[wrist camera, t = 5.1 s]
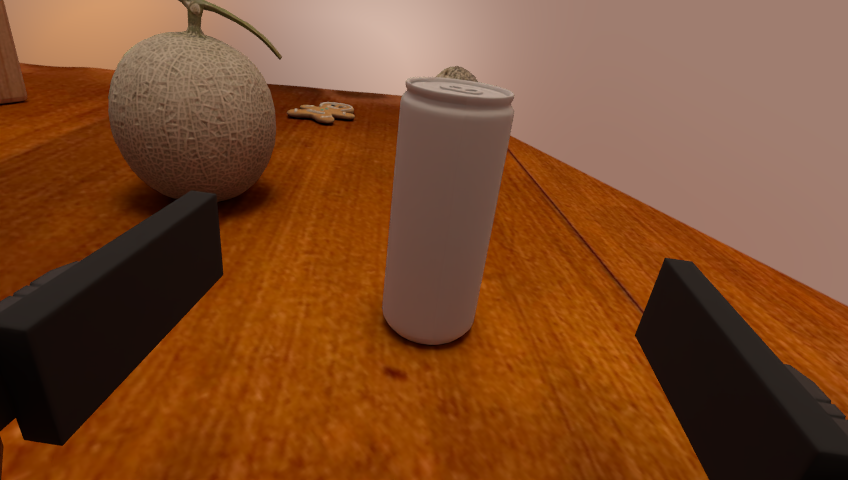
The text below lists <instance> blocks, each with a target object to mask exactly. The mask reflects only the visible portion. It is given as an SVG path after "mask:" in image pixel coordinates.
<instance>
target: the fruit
mask: <svg viewBox="0 0 848 480" xmlns="http://www.w3.org/2000/svg"><path fill="white" fill-rule="evenodd" d="M179 1H180V2H182V3H183V5H184V6H185V7H186V8H187V9H188V28H187V31H184V32H168V33H162V34H158V35H154V36H152V37H150V38H148V39H145V40H143V41H141V42H139V43H137V44H136V45H134V46H133V47H132V48H131V49H129V51H127V52H126V53H125V54H124V56H123V57H122V59H121V61H120V62H119V63H118V66H117V69H116V71H115V73H114V75H113V78H112V81H111V85H110V91H109V96H108V99H109V110H108V112H109V119H110V125H111V130H112V134H113V137H114V140H115V142H116V144H117V146H118V147H119V149H120V151H121V153H122V155H123V157H124V159H125V160H126V162H127V163H128V165H129V166H130V168H131V169H132V170H133V171H134V172H135V173H136V174H137V175H138V176H139V177H140V178H141V179H142V180H143V181H144V182H145V183H146V184H147V185H149V186H150V187H151V188H153V189H155V190H157V191H158V192H160V193H161V194H163V195H166V196H168V197H171V198H173V199H178V198H180V197H182V196H183V195H185V194H186V193H188V192H189V191H191V190H192V191H199V192H206V193H213V194H217V202H219V201H224V200H228V199H231V198H234V197H236V196H239V195H240V194H242V193H243V192H245V191H246V190H247V189H249V188H250V187H251V186H252V185H253V184H254V183H256V181H257V180H258V179H259V177H260V176H261V174H262V173H263V171H264V170H265V168H266V166H267V164H268V162H269V160H270V157H271V154H272V151H273V147H274V144H275V135H276V123H275V109H274V105H273V100H272V96H271V93H270V90H269V88H268V86H267V84H266V82H265V80H264V78H263V76H262V74H261V73H260V72H259V70H258V69H257V68H256V66H255V65H254V64H253V63H252V62H251V61H250V60H249V59H248V58H247V57H246V56H245V55H244V54H242V53H241V52H239V51H237V50H236V49H234V48H233V47H231V46H229V45H228V44H226V43H224V42H222V41H219V40H217V39H215V38H213V37H209V36H206V35H204V33H203V32H202V30H201V28H200V27H201V17H202V13H203V9H204V10H208V11H213V12H215V13H218V14H220V15H222V16H224V17H226V18H228V19H230V20H232V21H234V22H236V23H238V24H239V25H241V26H243V27H244V28H246V29H247V30H249V31H250V32H252V33H253V34H254V35H256V36H257V37H258V38H259V39H260V40H262V41H263V42H264V43H265V44H266V45H267V46H268V47H269V48H270V49H271V51H272V52H273V53H274V54H275V55H276V56H277V57H278V58H279V59H281V58H282V56H281V55H280V54H279V52H278V51H277V50H276V49H275V47H274V46H273V45H272V44H271V43H270V42H269V40H268V39H267V38H266V37H265V36H264V35H262V34H261V33H260V32H258V31H257V30H256V29H255V28H254V27H253V26H251V25H250V24H248V23H247V22H245V21H243V20H241V19H239V18H238V17H236V16H235V15H233V14H231V13H230V12H228V11H227V10H225V9H223V8H220V7H218V6H216V5H214V4H212V3H209V2H207V1H205V0H179Z"/></svg>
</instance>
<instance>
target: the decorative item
mask: <svg viewBox="0 0 848 480" xmlns="http://www.w3.org/2000/svg"><path fill="white" fill-rule="evenodd" d="M26 99H27V93H26V89H25V85H24V81H23V77H22V73H21V69H20V65H19V61H18V57H17V53H16V49H15V45H14V41H13V37H12V33H11V29H10V25H9V21H8V17H7V13H6V9H5V5H4V1H3V0H0V104H5V103H13V102H21V101H24V100H26Z"/></svg>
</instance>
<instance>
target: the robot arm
mask: <svg viewBox="0 0 848 480" xmlns="http://www.w3.org/2000/svg"><path fill="white" fill-rule="evenodd" d="M222 275H223V265H222V253H221V241H220V229H219V217H218V205H217V194H213V193H206V192H199V191H192V190H191V191H189V192H188V193H186V194H185V195H183V196H182V197H180V198H178V199H177V200H175V201H174V202H172V203H171V204H169V205H167V206H166V207H164V208H163V209H161V210H160V211H158V212H156V213H155V214H153V215H152V216H150V217H149V218H147V219H146V220H144V221H142V222H141V223H139V224H138V225H136V226H135V227H133V228H131V229H130V230H128V231H127V232H125V233H124V234H122V235H120V236H119V237H117V238H116V239H114V240H113V241H111V242H109V243H108V244H106V245H105V246H103V247H102V248H100V249H98V250H97V251H95V252H94V253H92V254H91V255H89V256H88V257H86V258H84V259H83V260H81V261H80V262H77V261H76V262H73V263H70V264H67V265H65V266H62V267H59V268H56V269H54V270H51V271H49V272H47V273H46V274H44V275H43V276H41V277H39V278H38V279H36V280H34V281H33V282H31V283H30V286H25V287H23V288H21V289H20V290H18V291H17V292H15V293H14V295H13V296H8V297H7V298H5V299H4V300H2V301H0V431H1V430H2V429H3V428H4V427H6V426H7V425H8V424H9V423H10V422H11V421H12V420H13V419H15V418H16V419H17V422H18V425H19V428H20V430H21V433H22V436H23V439H24V440H29V441H35V442H41V443H48V444H54V445H60V446H63V445H64V444H65V442H66V441H67V440H68V439H69V438H70V437H71V436H72V435H73V434H74V433H75V432H76V431H77V430H78V429H79V428H80V426H81V425H82V424H83V423H84V422H85V421H86V420H87V419H88V418H89V417H90V416H91V415H92V414H93V413H94V412H95V411H96V409H97V408H98V407H99V406H100V405H101V404H102V403H103V402H104V401H105V400H106V399H107V398H108V397H109V396H110V395H111V394H112V392H113V391H114V390H115V389H116V388H117V387H118V386H119V385H120V384H121V383H122V382H123V381H124V380H125V379H126V378H127V377H128V375H129V374H130V373H131V372H132V371H133V370H134V369H135V368H136V367H137V366H138V365H139V364H140V363H141V362H142V361H143V359H144V358H145V357H146V356H147V355H148V354H149V353H150V352H151V351H152V350H153V349H154V348H155V347H156V346H157V345H158V344H159V342H160V341H161V340H162V339H163V338H164V337H165V336H166V335H167V334H168V333H169V332H170V331H171V330H172V329H173V328H174V327H175V325H176V324H177V323H178V322H179V321H180V320H181V319H182V318H183V317H184V316H185V315H186V314H187V313H188V312H189V311H190V309H191V308H192V307H193V306H194V305H195V304H196V303H197V302H198V301H199V300H200V299H201V298H202V297H203V296H204V295H205V294H206V292H207V291H208V290H209V289H210V288H211V287H212V286H213V285H214V284H215V283H216V282H217V281H218V280H219V279H220V278H221V277H222ZM635 336H636V338H637V340H638V342H639V344H640V346H641V348H642V350H643V352H644V354H645V356H646V358H647V359H648V361H649V363H650V365H651V367H652V369H653V371H654V373H655V375H656V377H657V379H658V381H659V383H660V385H661V387H662V389H663V391H664V393H665V395H666V396H667V398H668V400H669V402H670V404H671V406H672V408H673V410H674V412H675V414H676V416H677V418H678V420H679V422H680V424H681V426H682V428H683V430H684V432H685V433H686V435H687V437H688V439H689V441H690V443H691V445H692V447H693V449H694V451H695V453H696V455H697V457H698V459H699V461H700V463H701V465H702V467H703V468H704V470H705V472H706V474H707V476H708V478H709V480H848V420H846V419H845V415H844V414H843V413H842V412H841V411H840V410H839V409H838V408H837V407H836V406H835V405H834V404H831V400H830V399H829V398H828V397H827V396H826V395H825V394H824V393H823V392H822V391H821V390H820V388H819V387H818V386H817V385H816V384H815V383H814V382H813V381H811V380H810V379H809V378H807V377H806V376H804V375H803V374H802V373H800V372H799V371H797V370H796V369H795V368H793V367H792V366H790V365H787V364H783V363H782V362H781V361H780V360H779V358H778V357H777V356H776V355H775V354H774V353H773V352H772V351H771V349H770V348H769V347H768V346H767V345H766V344H765V343H764V342H763V341H762V339H761V338H760V337H759V336H758V335H757V334H756V333H755V332H754V330H753V329H752V328H751V327H750V326H749V325H748V324H747V323H746V322H745V320H744V319H743V318H742V317H741V316H740V315H739V314H738V313H737V311H736V310H735V309H734V308H733V307H732V306H731V305H730V304H729V303H728V301H727V300H726V299H725V298H724V297H723V296H722V295H721V294H720V292H719V291H718V290H717V289H716V288H715V287H714V286H713V285H712V284H711V282H710V281H709V280H708V279H707V278H706V277H705V276H704V275H703V273H702V272H701V271H700V270H699V269H698V268H697V267H696V266H695V264H694V263H693V262H691V261H684V260H677V259H670V258H665V259H664V262H663V264H662V267H661V270H660V272H659V275H658V277H657V280H656V282H655V285H654V288H653V290H652V293H651V295H650V298H649V300H648V303H647V306H646V308H645V311H644V313H643V316H642V318H641V321H640V324H639V326H638V329H637V331H636V334H635ZM2 459H3V443H2V440H1V437H0V480H1V472H2Z"/></svg>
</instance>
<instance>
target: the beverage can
mask: <svg viewBox="0 0 848 480" xmlns="http://www.w3.org/2000/svg"><path fill="white" fill-rule="evenodd" d="M406 87H407V91H406V92H405V93H404V94H403V96H402V98H401V104H400V115H399V126H398V138H397V149H396V160H395V171H394V182H393V194H392V205H391V216H390V227H389V238H388V250H387V261H386V272H385V283H384V294H383V306H382V309H383V315H384V317H385V319H386V321H387V322H388V324H389V325H390V326H391V328H392V329H393V330H394V331H396V332H397V333H398V334H399V335H400V336H402V337H404V338H406V339H408V340H410V341H413V342H416V343H420V344H427V345H439V344H444V343H449V342H451V341H453V340H456V339H458V338H459V337H461V336H462V335H464V334H465V333H466V332H467V331H468V330H469V329H470V328H471V326H472V323H473V321H474V316H475V311H476V306H477V301H478V296H479V291H480V286H481V281H482V276H483V270H484V265H485V260H486V255H487V250H488V245H489V240H490V235H491V230H492V224H493V219H494V214H495V209H496V204H497V199H498V194H499V188H500V183H501V178H502V173H503V168H504V163H505V158H506V153H507V147H508V142H509V137H510V132H511V127H512V122H513V116H514V110H513V108H512V106H511V102H512V101H513V99H514V94H513V92H511V91H509V90H507V89H504V88H501V87H497V86H493V85H489V84H484V83H479V82H473V81H467V80H460V79H451V78H439V77H413V78H409V79H407V80H406Z"/></svg>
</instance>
